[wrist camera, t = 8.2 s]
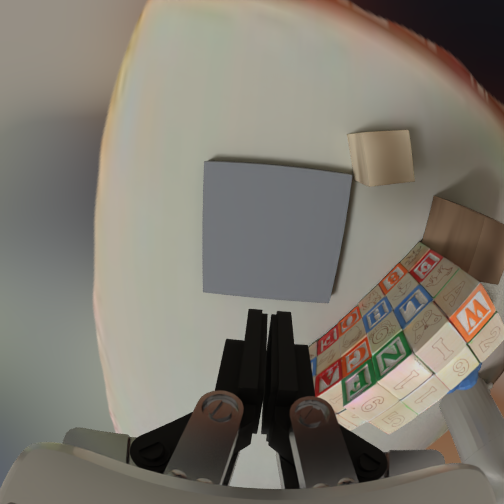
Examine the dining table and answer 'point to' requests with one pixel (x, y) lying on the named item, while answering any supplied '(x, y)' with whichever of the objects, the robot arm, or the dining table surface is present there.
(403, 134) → the maple cube
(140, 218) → the dining table surface
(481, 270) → the walnut block
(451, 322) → the stack of blocks
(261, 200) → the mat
